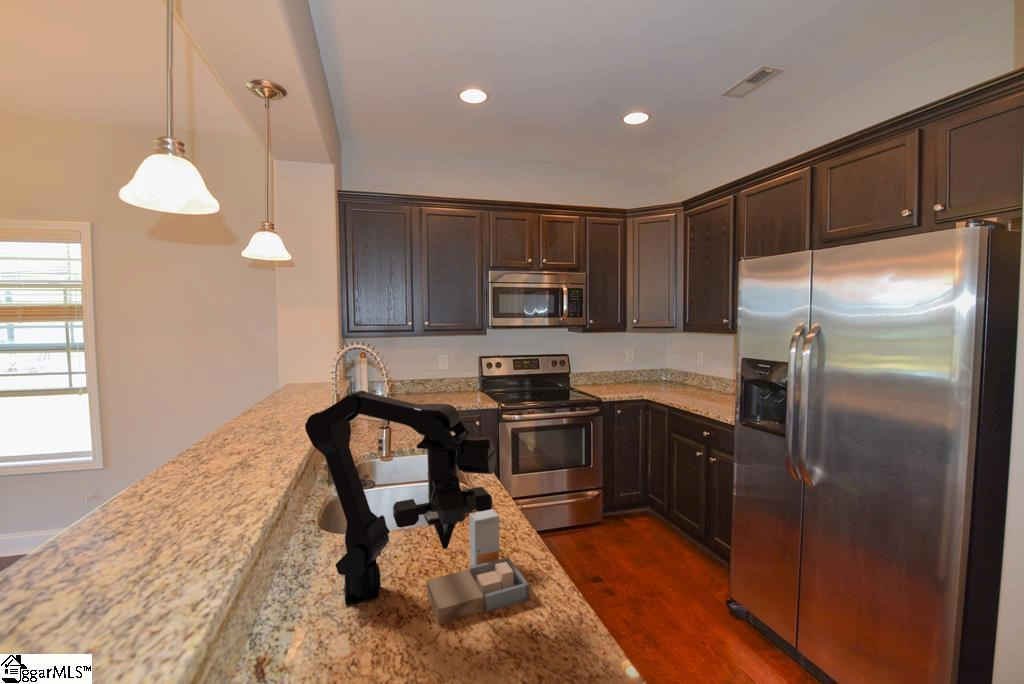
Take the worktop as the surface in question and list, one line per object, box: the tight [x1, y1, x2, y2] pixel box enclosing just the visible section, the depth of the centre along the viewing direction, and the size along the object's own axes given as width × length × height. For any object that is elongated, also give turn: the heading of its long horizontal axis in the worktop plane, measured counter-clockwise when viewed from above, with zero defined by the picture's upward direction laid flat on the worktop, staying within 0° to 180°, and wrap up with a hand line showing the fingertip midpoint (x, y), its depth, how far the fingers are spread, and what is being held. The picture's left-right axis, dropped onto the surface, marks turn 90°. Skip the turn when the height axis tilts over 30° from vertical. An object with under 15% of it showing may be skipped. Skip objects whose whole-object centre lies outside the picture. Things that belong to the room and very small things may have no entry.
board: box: [426, 568, 485, 626], centre depth 87 cm, size 9×10×3 cm
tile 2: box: [495, 562, 514, 590], centre depth 91 cm, size 4×4×2 cm
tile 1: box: [477, 571, 501, 598], centre depth 90 cm, size 4×4×2 cm
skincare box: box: [468, 508, 500, 566], centre depth 99 cm, size 6×4×12 cm
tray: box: [468, 557, 530, 613], centre depth 90 cm, size 9×11×3 cm
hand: (444, 547), depth 85 cm, fingers closed
